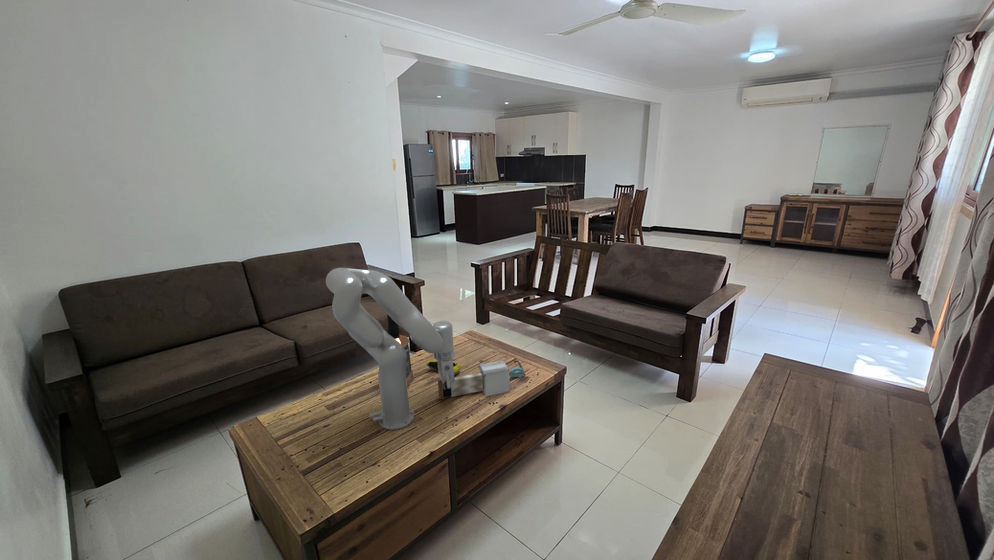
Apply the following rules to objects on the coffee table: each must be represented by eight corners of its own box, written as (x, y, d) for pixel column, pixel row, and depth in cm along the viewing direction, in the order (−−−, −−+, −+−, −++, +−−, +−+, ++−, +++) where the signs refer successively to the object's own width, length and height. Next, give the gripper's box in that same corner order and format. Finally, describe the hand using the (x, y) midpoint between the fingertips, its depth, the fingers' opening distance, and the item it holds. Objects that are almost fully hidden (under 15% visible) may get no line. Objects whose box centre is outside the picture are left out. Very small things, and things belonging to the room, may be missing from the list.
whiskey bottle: (405, 391, 164) (398, 318, 155) (383, 389, 166) (374, 317, 157) (414, 377, 174) (408, 309, 165) (393, 376, 176) (385, 308, 166)
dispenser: (485, 396, 159) (484, 374, 156) (479, 386, 167) (478, 364, 164) (509, 391, 162) (509, 369, 159) (503, 381, 170) (502, 360, 167)
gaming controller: (449, 382, 170) (465, 372, 178) (448, 371, 169) (464, 361, 176) (425, 372, 179) (441, 363, 187) (424, 361, 177) (440, 352, 185)
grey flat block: (439, 399, 157) (438, 383, 154) (438, 396, 158) (437, 380, 156) (482, 390, 162) (482, 375, 160) (481, 387, 164) (480, 372, 162)
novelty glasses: (492, 381, 170) (492, 371, 169) (488, 365, 184) (488, 355, 183) (524, 379, 172) (524, 368, 171) (518, 362, 186) (518, 352, 185)
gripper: (458, 360, 147) (460, 404, 152) (449, 342, 161) (451, 383, 167) (438, 364, 145) (441, 408, 150) (430, 345, 159) (433, 386, 164)
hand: (446, 394), depth 158 cm, fingers closed on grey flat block, 2 cm apart
